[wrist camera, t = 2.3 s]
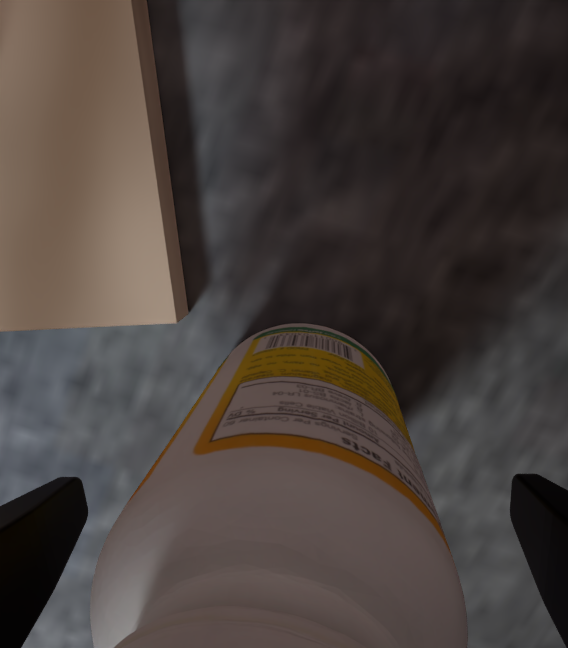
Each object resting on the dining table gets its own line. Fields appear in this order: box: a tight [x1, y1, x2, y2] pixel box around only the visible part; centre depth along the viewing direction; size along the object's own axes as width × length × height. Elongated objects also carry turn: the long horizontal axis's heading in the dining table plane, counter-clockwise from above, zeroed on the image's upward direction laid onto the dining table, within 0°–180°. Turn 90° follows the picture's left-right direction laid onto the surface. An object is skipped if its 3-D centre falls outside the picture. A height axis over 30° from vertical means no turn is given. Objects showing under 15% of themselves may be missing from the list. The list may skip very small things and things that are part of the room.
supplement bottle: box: [90, 323, 468, 648], centre depth 8 cm, size 5×5×10 cm
